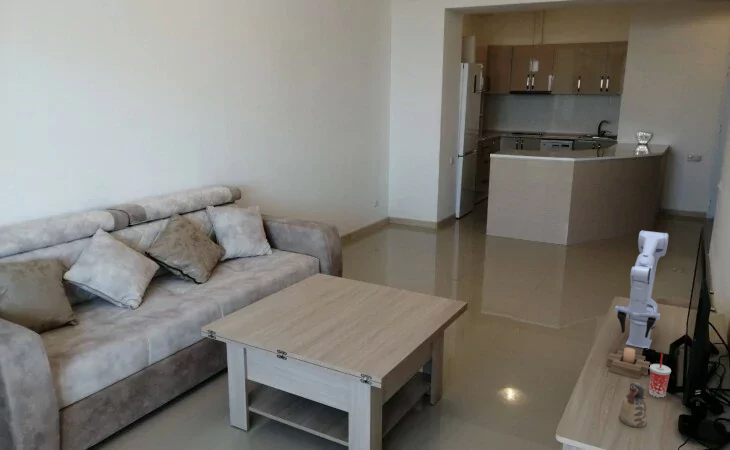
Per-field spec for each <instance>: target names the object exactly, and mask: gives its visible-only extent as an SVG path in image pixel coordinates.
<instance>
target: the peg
mask: <svg viewBox="0 0 730 450" xmlns="http://www.w3.org/2000/svg"><path fill="white" fill-rule="evenodd" d="M623 351H624V356H623V362H626V363H630V364H634V358H635V354H636V349H634V348H632V347H624V349H623Z"/></svg>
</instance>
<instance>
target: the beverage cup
mask: <svg viewBox="0 0 730 450" xmlns="http://www.w3.org/2000/svg"><path fill="white" fill-rule="evenodd" d="M663 358H664V353H661V354H660V360H659V361H660V362H659V363H653V364H652V363H651V364H650V367H649V388H648V389H649V390H648V392H649V395H650V396H652V395H653V396H652V397H655V396H656V397H655V398H659V397H663V398H665V397H666V394H667V389H668V384H669V379H670V376H671V375H670V374H671V372H672V370H671V368H670V367H669V366H667V365H664V364H663ZM664 396H665V397H664Z"/></svg>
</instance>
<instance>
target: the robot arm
mask: <svg viewBox="0 0 730 450" xmlns="http://www.w3.org/2000/svg"><path fill="white" fill-rule="evenodd" d="M637 243H638V250H639V254H638V256H637V257H636V261H635V264H634V266H632V267H631V270H630V277H629V278H630V294H629V303H628V305H627V306H621V305H616V306H615V307H614V313H617V315H616V316H617V319H618V320H619V324H620V328H621V334H625V331H626V320H629V322H630V324H629V334H628V338H627V340H626V342H625V345H626V346H632V347H636V348H640V349H644V348H648V349H647V350H649V349H650V347H651V345H652V342H653V339H652V338H651V333H652V328H651V327H652V326H653V324H654V323H655V322H656V323H657V321H660V319H661V313H659V312H658V308H659V307H658V303H657V302H656V301H655V300H654V299H652V295H653V289H654V285H655V284H654V282H655V278H656V272H657V265H658V261H659V259H660V258H661V257H664V256H666V253H667V248H668V243H669V233H668V232H657V231H648V230H643V229H642V230H641V231H639V234H638V240H637ZM626 318H627V319H626ZM650 338H651V339H650Z"/></svg>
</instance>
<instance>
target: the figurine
mask: <svg viewBox="0 0 730 450" xmlns="http://www.w3.org/2000/svg"><path fill="white" fill-rule="evenodd" d="M629 385H630V386H629V393H628V394H626V395H625V396H624V397H623V399H622V402H621V407H620V410H619V419H620V421H621V422H622V423H624V424H625V425H627V426H630V427H633V428H642V427H645V426H647V425H646V424H647V405H646V402H645V401H644V400H646V398H647V397H645V391H646V389H645V388H644V387H643V386H642V385H641V384H640V383H639V382H633V383H630V384H629Z"/></svg>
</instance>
